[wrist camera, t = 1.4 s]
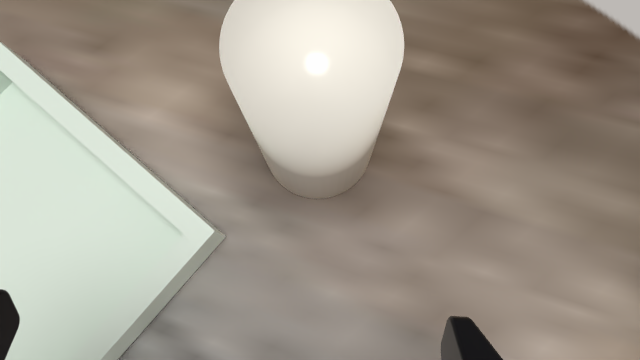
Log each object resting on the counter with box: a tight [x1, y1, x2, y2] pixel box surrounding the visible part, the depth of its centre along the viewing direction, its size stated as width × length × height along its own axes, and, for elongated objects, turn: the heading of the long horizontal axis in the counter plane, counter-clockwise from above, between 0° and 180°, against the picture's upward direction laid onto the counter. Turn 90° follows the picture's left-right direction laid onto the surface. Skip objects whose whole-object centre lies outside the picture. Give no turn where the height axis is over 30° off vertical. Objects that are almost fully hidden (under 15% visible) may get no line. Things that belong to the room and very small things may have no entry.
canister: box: [219, 0, 404, 199], centre depth 20 cm, size 6×6×11 cm
